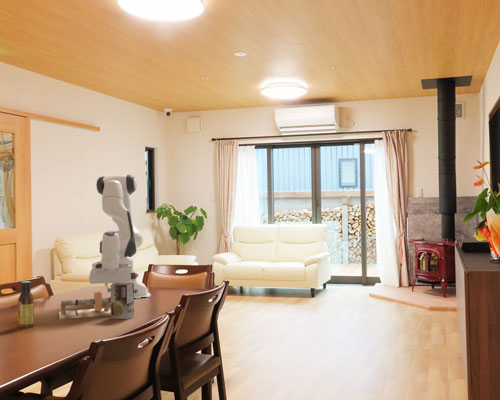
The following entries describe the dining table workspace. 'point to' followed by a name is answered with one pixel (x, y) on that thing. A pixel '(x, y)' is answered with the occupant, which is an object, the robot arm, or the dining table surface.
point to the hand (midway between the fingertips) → (109, 292)
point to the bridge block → (98, 301)
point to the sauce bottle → (25, 306)
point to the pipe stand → (83, 313)
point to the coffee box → (122, 300)
